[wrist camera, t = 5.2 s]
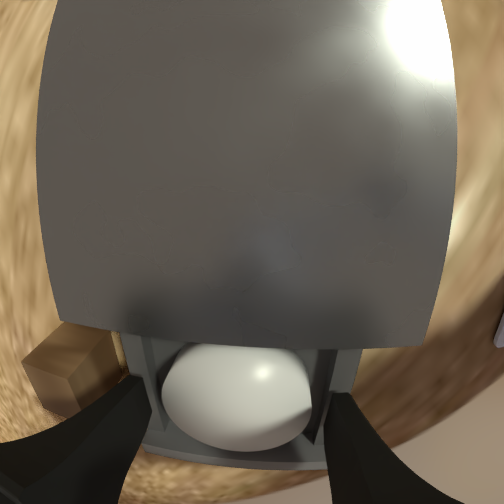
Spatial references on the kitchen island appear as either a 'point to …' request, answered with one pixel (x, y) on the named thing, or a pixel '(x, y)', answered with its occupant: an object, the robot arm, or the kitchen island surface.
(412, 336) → the shiny gray metal block
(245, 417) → the white rounded dome
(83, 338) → the brown cardboard cube
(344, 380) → the tray
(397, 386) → the kitchen island surface
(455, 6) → the kitchen island surface
